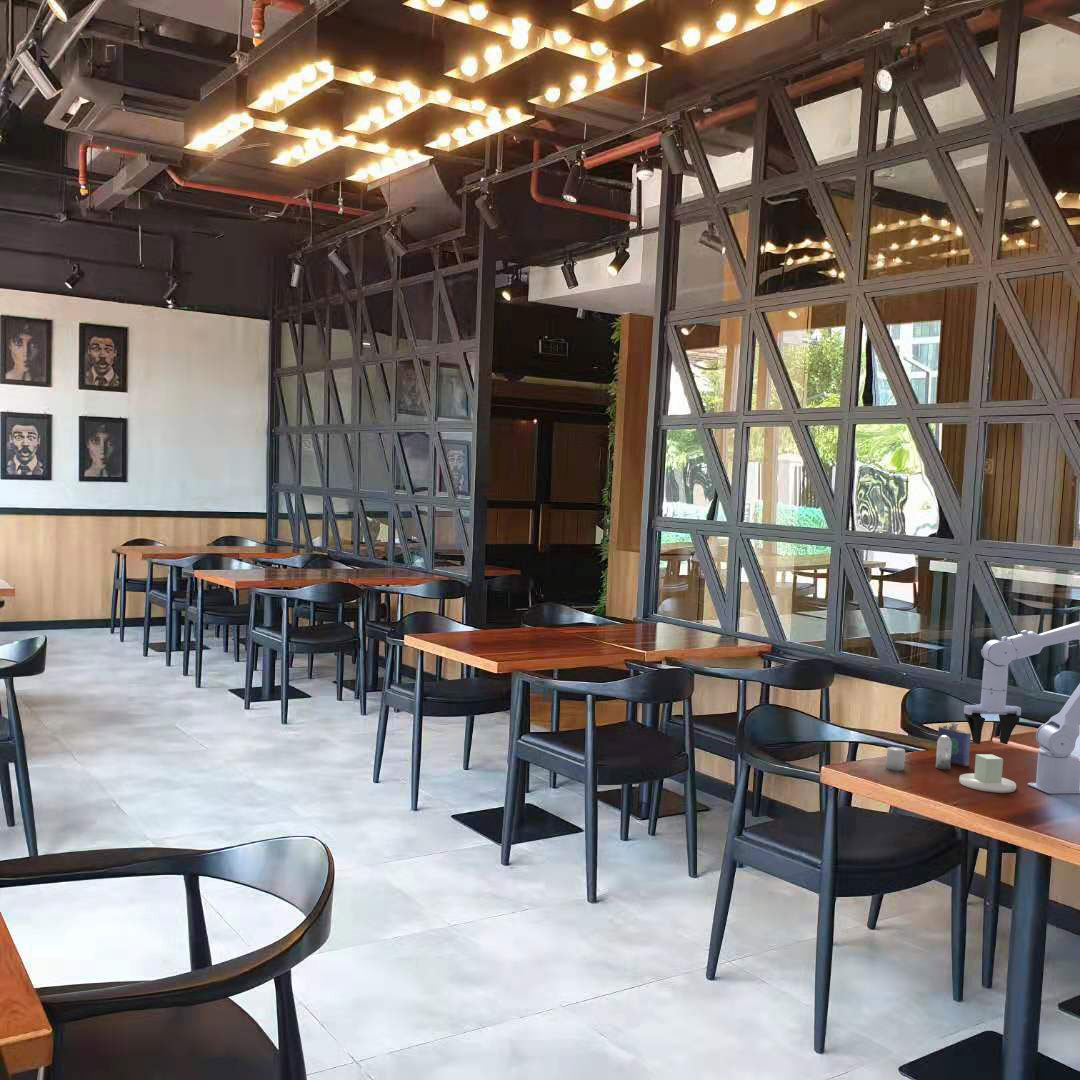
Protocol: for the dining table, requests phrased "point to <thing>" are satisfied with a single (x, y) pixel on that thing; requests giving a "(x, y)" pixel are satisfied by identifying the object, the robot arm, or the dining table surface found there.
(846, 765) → the dining table surface
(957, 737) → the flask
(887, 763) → the white rounded domed part
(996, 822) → the dining table surface
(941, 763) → the salt shaker
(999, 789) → the plate
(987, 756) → the sage block
